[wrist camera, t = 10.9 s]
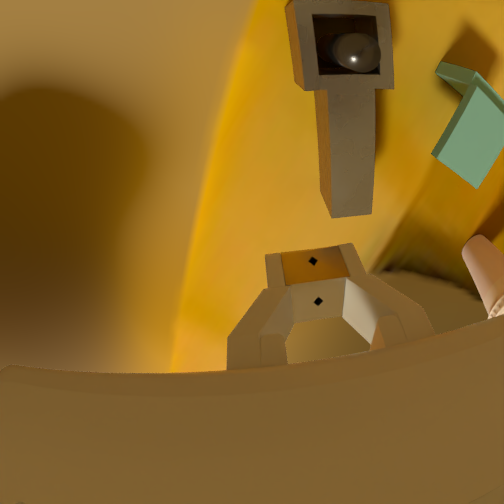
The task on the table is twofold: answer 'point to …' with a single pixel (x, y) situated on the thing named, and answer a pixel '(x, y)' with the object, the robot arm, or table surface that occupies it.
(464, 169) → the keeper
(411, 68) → the table surface
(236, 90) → the table surface
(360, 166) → the link
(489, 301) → the smoothie
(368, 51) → the pintle
